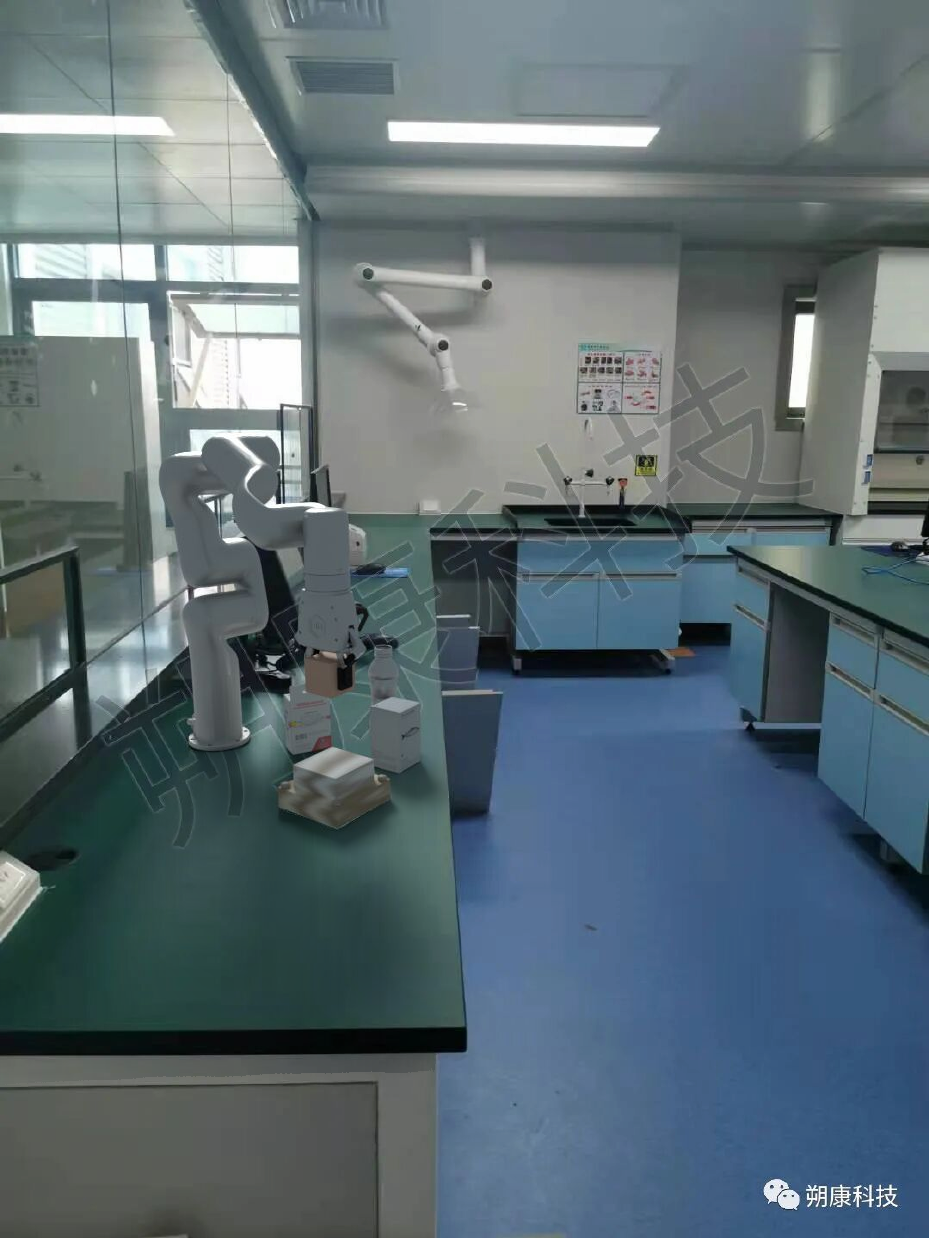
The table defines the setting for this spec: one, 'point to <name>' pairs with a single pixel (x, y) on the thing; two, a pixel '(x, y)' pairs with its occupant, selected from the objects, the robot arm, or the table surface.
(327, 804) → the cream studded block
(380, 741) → the supplement box
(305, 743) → the ink cartridge box
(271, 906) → the table surface
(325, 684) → the tan cube
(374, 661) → the plastic bottle
